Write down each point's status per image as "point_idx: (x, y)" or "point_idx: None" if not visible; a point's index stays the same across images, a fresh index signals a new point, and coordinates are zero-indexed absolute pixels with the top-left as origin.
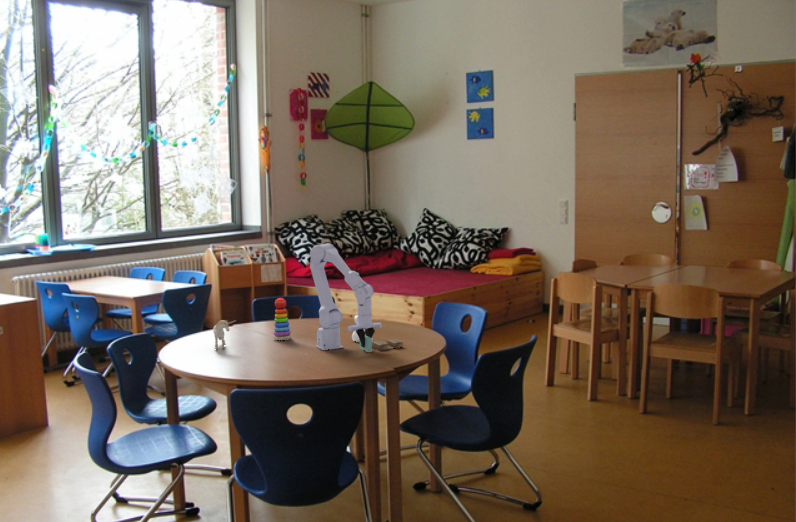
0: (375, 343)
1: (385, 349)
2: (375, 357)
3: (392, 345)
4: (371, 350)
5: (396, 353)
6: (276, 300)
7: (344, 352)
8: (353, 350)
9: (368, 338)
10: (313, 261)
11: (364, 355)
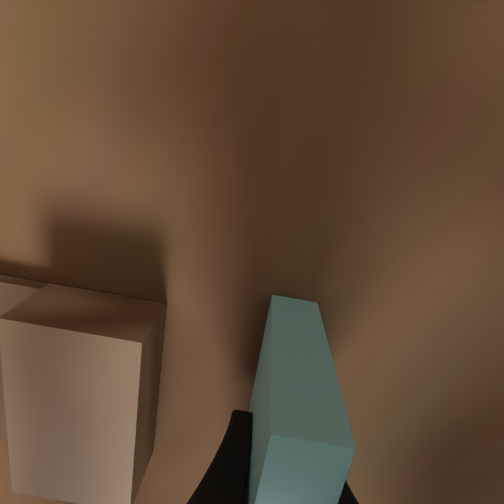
0: (136, 429)
1: (78, 292)
2: (416, 24)
3: None
4: (277, 308)
5: (43, 32)
6: None
7: (482, 471)
8: (360, 476)
9: (342, 451)
10: None
11: (437, 232)
